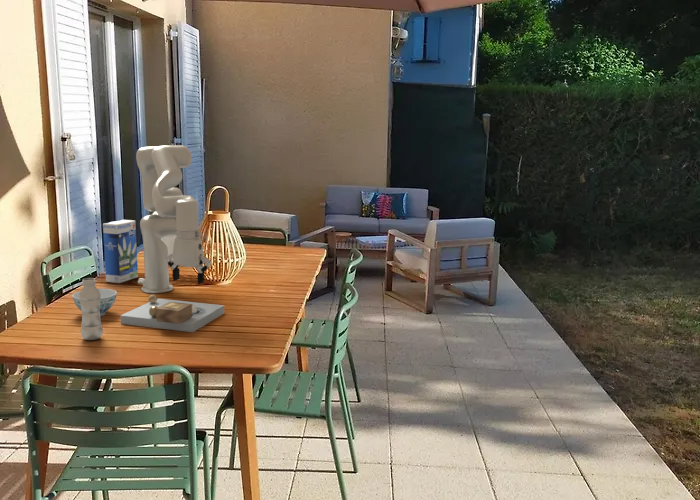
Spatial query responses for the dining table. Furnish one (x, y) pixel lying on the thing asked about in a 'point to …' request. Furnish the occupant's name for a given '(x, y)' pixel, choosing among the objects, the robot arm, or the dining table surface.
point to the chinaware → (106, 300)
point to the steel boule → (193, 309)
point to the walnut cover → (174, 312)
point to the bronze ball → (153, 311)
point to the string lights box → (120, 251)
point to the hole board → (192, 324)
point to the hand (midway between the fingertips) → (188, 281)
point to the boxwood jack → (152, 298)
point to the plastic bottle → (90, 310)
